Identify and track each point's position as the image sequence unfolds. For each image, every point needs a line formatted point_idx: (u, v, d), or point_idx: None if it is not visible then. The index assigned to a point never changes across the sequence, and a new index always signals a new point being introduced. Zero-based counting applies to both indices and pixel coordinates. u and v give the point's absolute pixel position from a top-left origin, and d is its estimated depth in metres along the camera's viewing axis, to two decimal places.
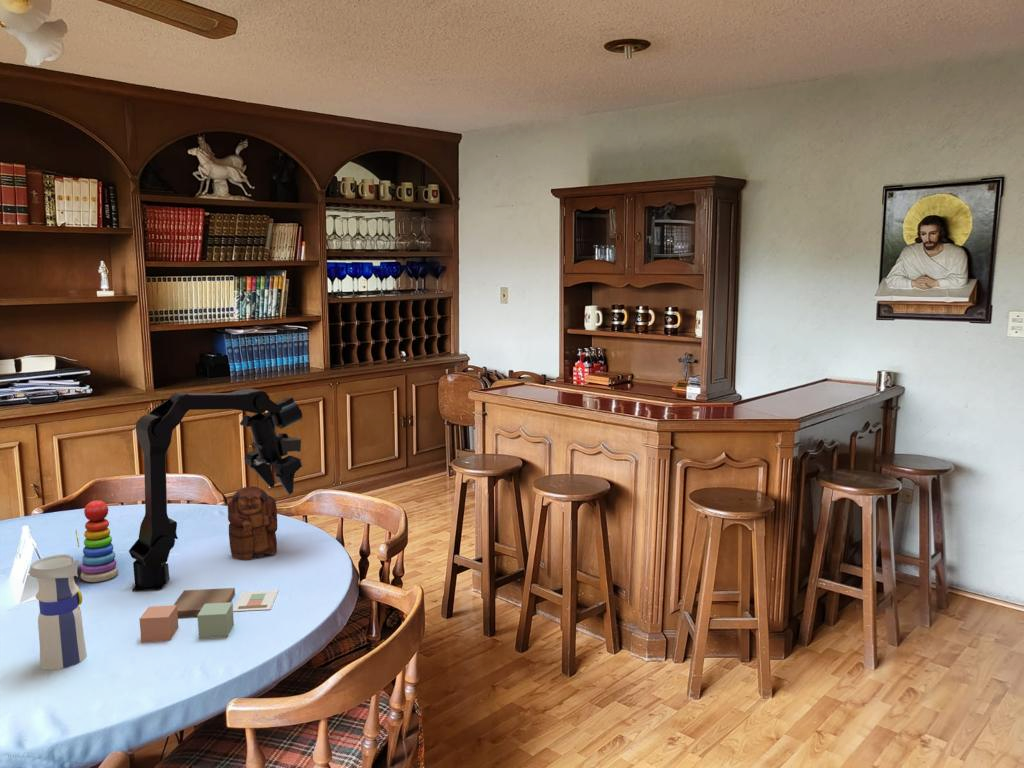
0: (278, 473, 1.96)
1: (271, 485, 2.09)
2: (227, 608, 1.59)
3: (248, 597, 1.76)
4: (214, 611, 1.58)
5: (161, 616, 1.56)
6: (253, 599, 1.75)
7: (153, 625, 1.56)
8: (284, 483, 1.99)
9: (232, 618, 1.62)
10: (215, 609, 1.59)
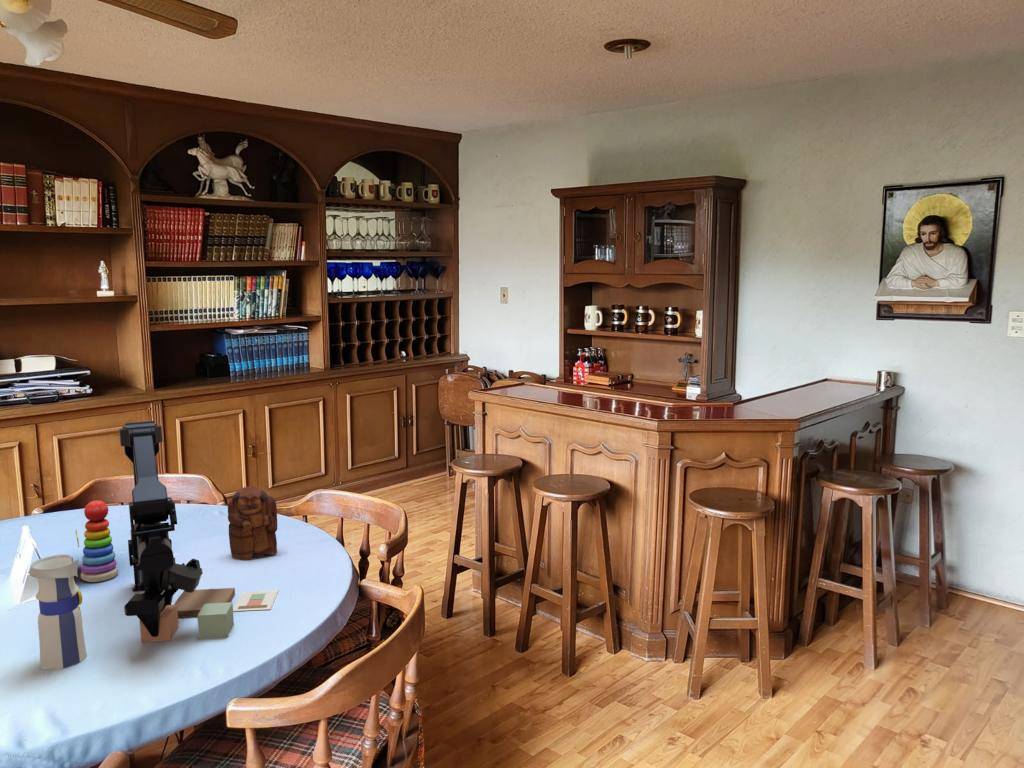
0: None
1: None
2: (227, 608, 1.60)
3: (248, 597, 1.76)
4: (214, 611, 1.58)
5: (161, 615, 1.56)
6: (253, 599, 1.75)
7: None
8: (143, 620, 1.54)
9: (232, 618, 1.62)
10: (215, 609, 1.59)
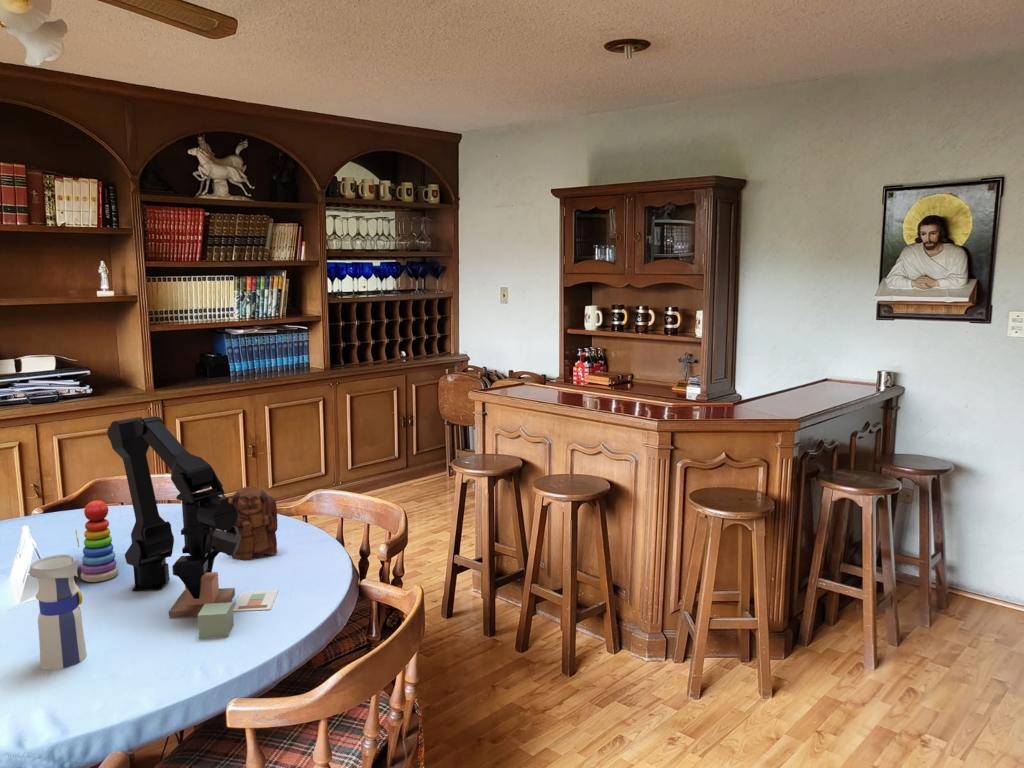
0: None
1: None
2: (227, 608, 1.60)
3: (248, 597, 1.76)
4: (214, 611, 1.58)
5: (205, 581, 1.69)
6: (253, 599, 1.75)
7: None
8: (186, 583, 1.65)
9: (232, 618, 1.62)
10: (216, 609, 1.59)
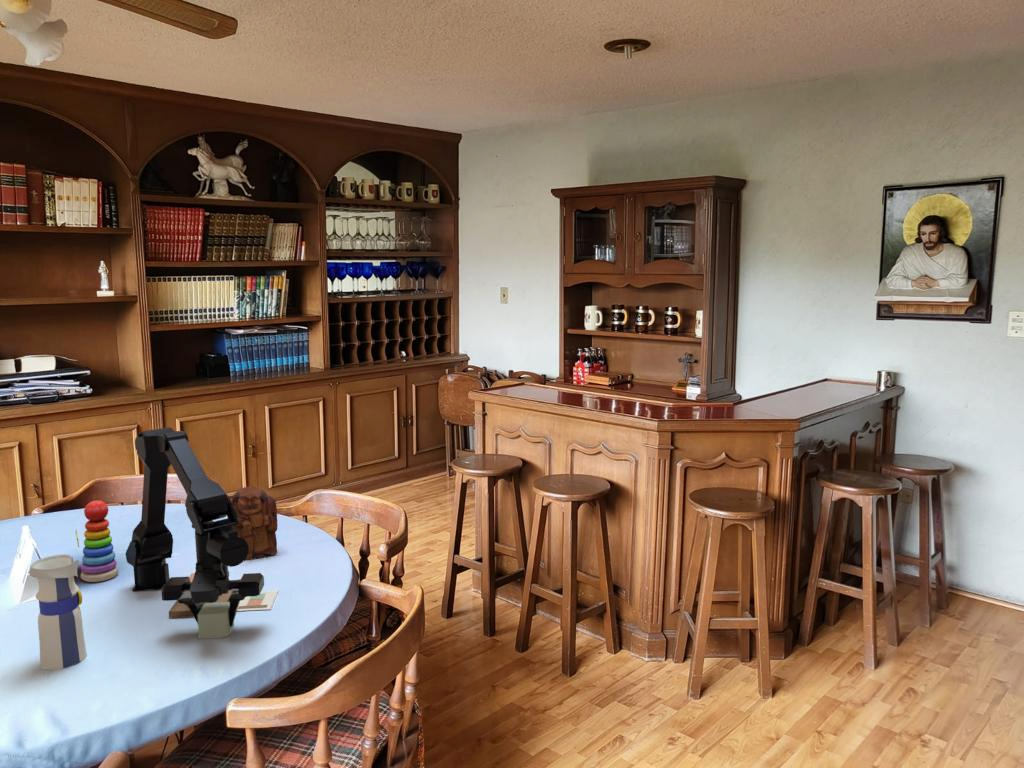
0: None
1: None
2: (227, 607, 1.59)
3: (248, 597, 1.76)
4: (214, 610, 1.58)
5: None
6: (253, 599, 1.75)
7: None
8: None
9: None
10: (216, 609, 1.59)
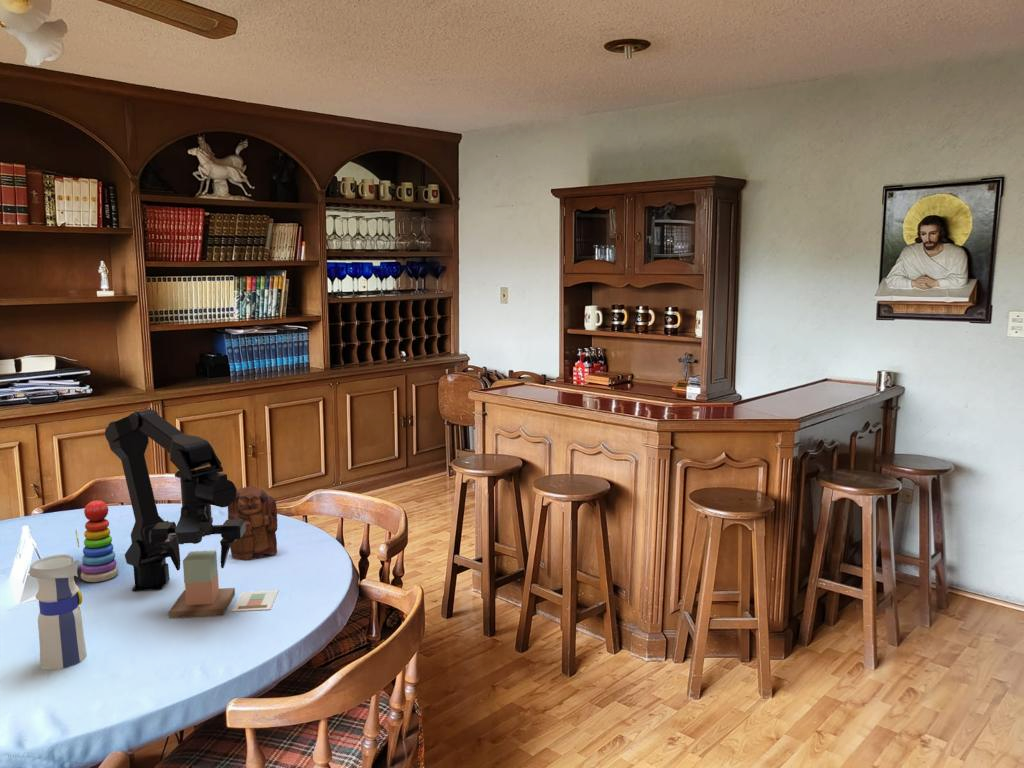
0: None
1: None
2: (211, 555, 1.71)
3: (248, 597, 1.76)
4: (198, 557, 1.69)
5: None
6: (253, 599, 1.75)
7: (198, 589, 1.69)
8: None
9: (216, 565, 1.73)
10: (200, 556, 1.70)
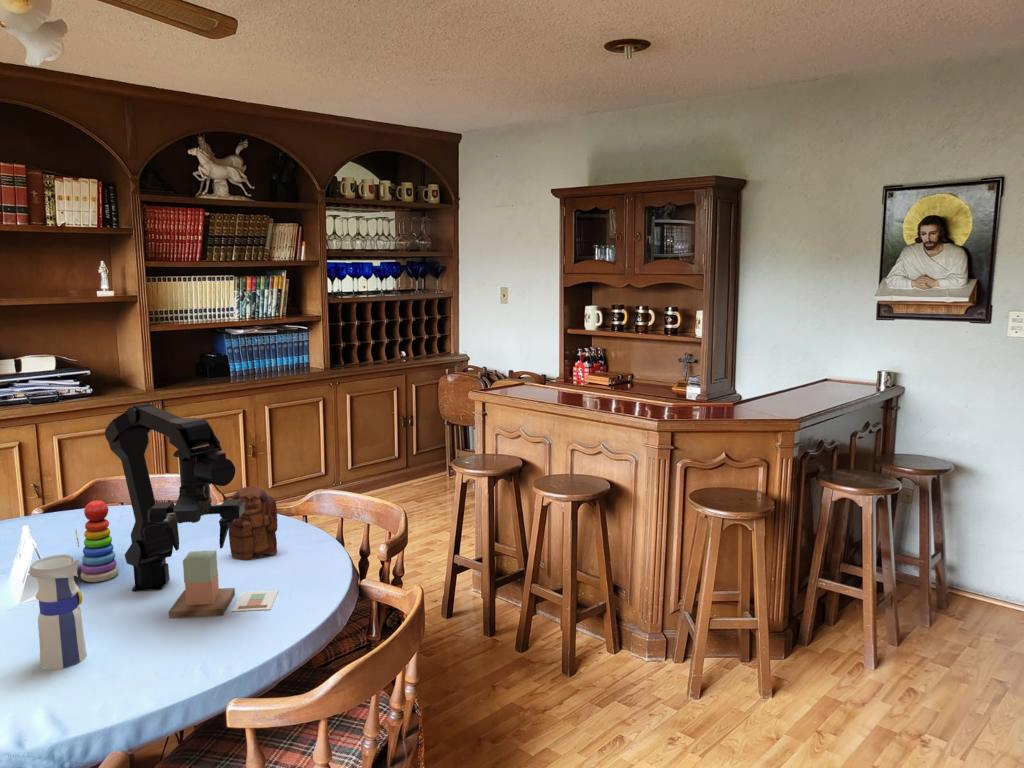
0: None
1: None
2: (211, 555, 1.71)
3: (248, 597, 1.76)
4: (198, 557, 1.69)
5: None
6: (253, 599, 1.75)
7: (198, 589, 1.69)
8: None
9: (216, 565, 1.73)
10: (200, 556, 1.70)
